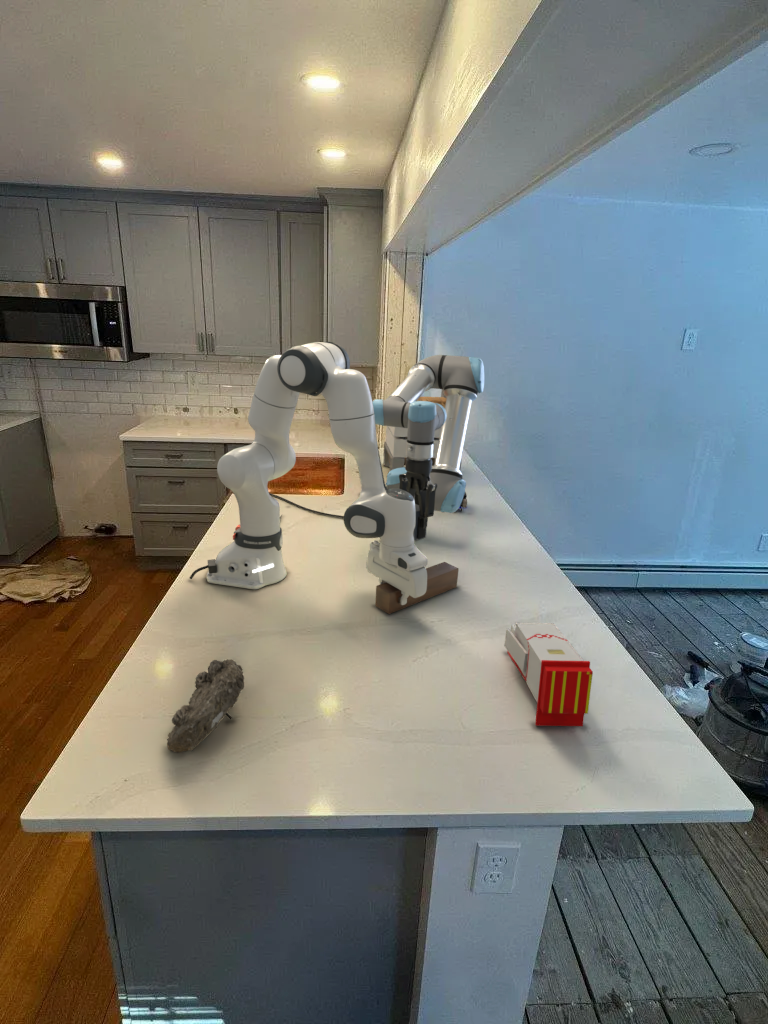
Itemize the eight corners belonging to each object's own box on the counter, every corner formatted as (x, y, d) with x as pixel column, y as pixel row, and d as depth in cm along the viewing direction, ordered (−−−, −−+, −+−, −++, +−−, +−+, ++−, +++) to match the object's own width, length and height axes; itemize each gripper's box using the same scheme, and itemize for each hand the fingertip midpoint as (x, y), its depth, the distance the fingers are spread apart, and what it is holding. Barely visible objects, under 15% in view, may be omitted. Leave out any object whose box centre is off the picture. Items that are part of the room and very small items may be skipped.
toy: (550, 607, 134) (601, 667, 105) (545, 659, 137) (594, 732, 108) (499, 606, 134) (537, 666, 104) (495, 659, 137) (530, 731, 107)
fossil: (192, 660, 117) (244, 628, 112) (224, 691, 120) (276, 661, 115) (142, 746, 98) (202, 712, 93) (182, 779, 101) (242, 748, 96)
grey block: (401, 535, 167) (403, 507, 164) (414, 532, 170) (416, 504, 167) (413, 541, 164) (415, 511, 161) (425, 537, 167) (427, 508, 164)
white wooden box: (382, 463, 289) (386, 382, 275) (445, 464, 293) (451, 384, 279) (390, 482, 257) (394, 392, 243) (460, 483, 261) (468, 394, 247)
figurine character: (467, 516, 223) (461, 500, 237) (469, 499, 220) (463, 483, 233) (450, 516, 223) (446, 499, 236) (452, 498, 220) (447, 483, 233)
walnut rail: (375, 605, 151) (376, 585, 149) (442, 580, 167) (444, 561, 165) (388, 614, 147) (389, 593, 145) (456, 587, 163) (458, 568, 161)
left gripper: (361, 540, 151) (360, 587, 156) (414, 567, 137) (411, 618, 142) (379, 535, 155) (377, 581, 160) (432, 561, 141) (428, 610, 146)
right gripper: (388, 452, 163) (384, 527, 171) (432, 466, 150) (426, 547, 158) (407, 449, 168) (402, 523, 176) (451, 462, 155) (445, 541, 163)
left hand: (393, 598), depth 151 cm, fingers closed on walnut rail, 5 cm apart
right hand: (414, 534), depth 167 cm, fingers closed on grey block, 5 cm apart
